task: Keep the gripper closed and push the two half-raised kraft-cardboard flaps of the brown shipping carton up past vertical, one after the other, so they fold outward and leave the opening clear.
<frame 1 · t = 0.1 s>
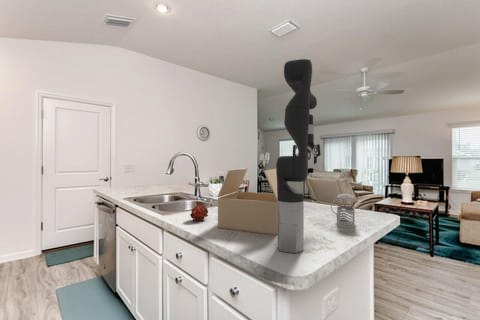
hand: (306, 164, 128), 29 cm above the worktop, fingers open, 8 cm apart
dragon fruit: (199, 220, 126), on the worktop
flap left: (233, 181, 122), point 21 cm above the worktop, hinge at 65.0°
carton: (254, 224, 117), on the worktop
french press: (343, 225, 117), on the worktop
flap right: (277, 183, 113), point 21 cm above the worktop, hinge at 65.0°
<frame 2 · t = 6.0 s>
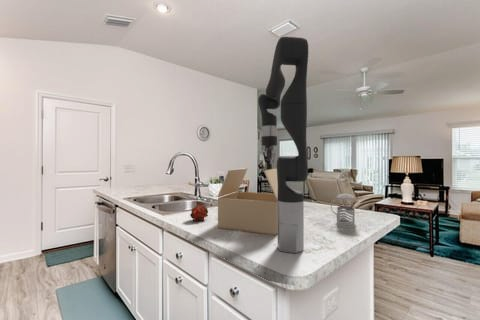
hand: (269, 171, 115), 26 cm above the worktop, fingers closed
flap right: (277, 183, 113), point 21 cm above the worktop, hinge at 65.1°, touching gripper
everything else where it was.
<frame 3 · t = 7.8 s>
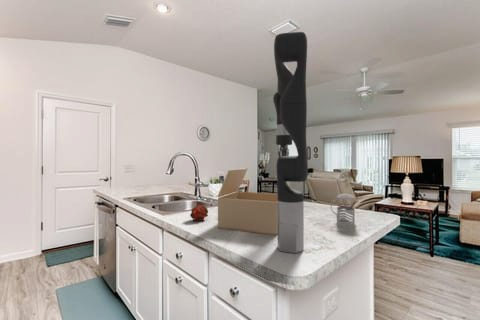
hand: (283, 171, 113), 26 cm above the worktop, fingers closed
flap right: (284, 182, 112), point 21 cm above the worktop, hinge at 93.8°, touching gripper
everything else where it was.
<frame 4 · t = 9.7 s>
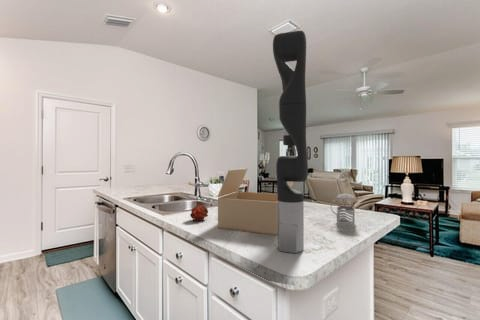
hand: (291, 172, 111), 26 cm above the worktop, fingers closed
flap right: (288, 183, 111), point 21 cm above the worktop, hinge at 109.9°, touching gripper
everything else where it was.
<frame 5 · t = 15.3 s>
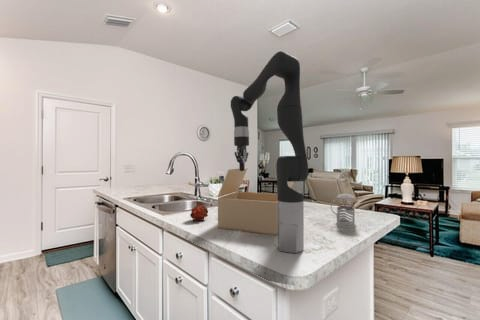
hand: (242, 170, 121), 26 cm above the worktop, fingers closed
flap left: (233, 181, 122), point 21 cm above the worktop, hinge at 65.4°, touching gripper
flap right: (288, 183, 111), point 21 cm above the worktop, hinge at 110.1°
everything else where it was.
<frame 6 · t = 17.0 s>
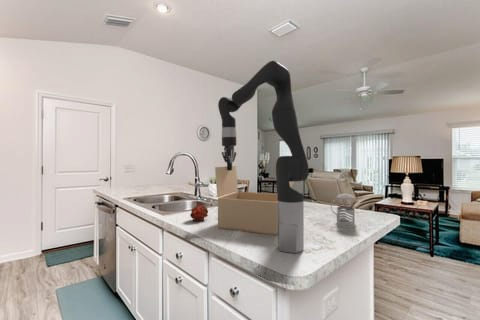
hand: (229, 170, 124), 26 cm above the worktop, fingers closed
flap left: (227, 180, 123), point 21 cm above the worktop, hinge at 94.8°, touching gripper
everything else where it was.
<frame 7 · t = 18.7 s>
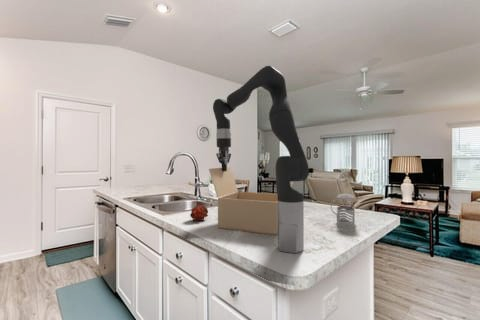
hand: (224, 171, 125), 26 cm above the worktop, fingers closed
flap left: (224, 180, 124), point 21 cm above the worktop, hinge at 109.1°, touching gripper
everything else where it was.
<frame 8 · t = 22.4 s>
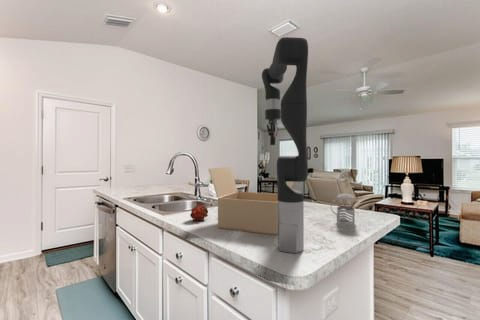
hand: (272, 145, 118), 39 cm above the worktop, fingers closed
flap left: (224, 180, 124), point 21 cm above the worktop, hinge at 109.9°
everything else where it was.
at the end: flap right at +110° (first picture: +65°); flap left at +110° (first picture: +65°) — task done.
